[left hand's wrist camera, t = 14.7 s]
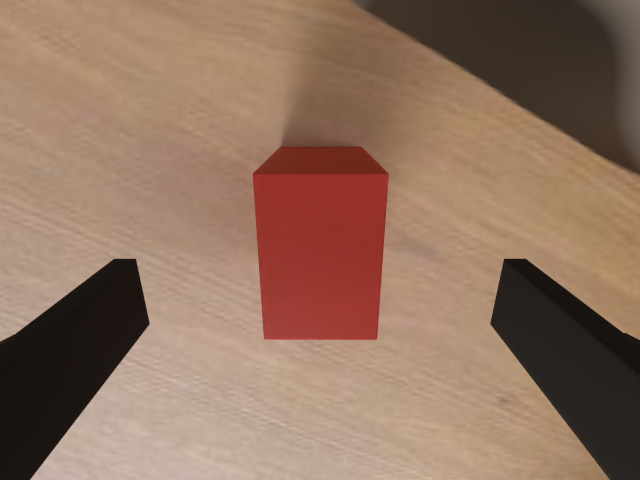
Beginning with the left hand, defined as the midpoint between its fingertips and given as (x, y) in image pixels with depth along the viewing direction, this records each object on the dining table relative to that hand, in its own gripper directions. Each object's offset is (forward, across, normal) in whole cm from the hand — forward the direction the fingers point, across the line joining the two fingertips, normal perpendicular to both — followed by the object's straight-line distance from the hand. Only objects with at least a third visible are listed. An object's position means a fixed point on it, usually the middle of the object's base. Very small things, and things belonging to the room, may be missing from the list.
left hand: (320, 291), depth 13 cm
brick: (+13, 0, 0) cm, 13 cm away
